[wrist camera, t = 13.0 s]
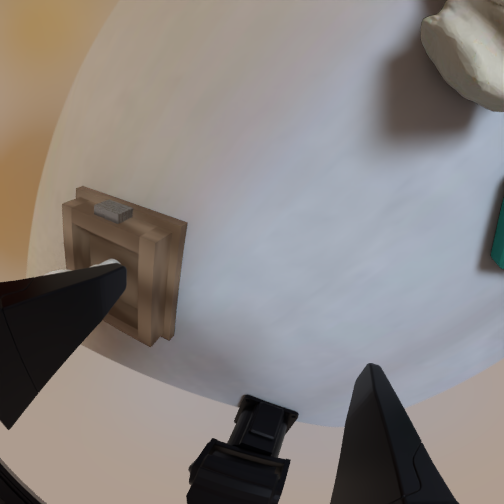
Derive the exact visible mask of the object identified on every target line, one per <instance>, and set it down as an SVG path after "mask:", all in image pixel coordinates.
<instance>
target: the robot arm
mask: <svg viewBox="0 0 504 504" xmlns="http://www.w3.org/2000/svg"><path fill="white" fill-rule="evenodd" d="M126 286H127V269H126V267H125V266H123V265H121V264H119V263H112V264H106V265H100V266H94V267H89V268H83V269H77V270H72V271H66V272H61V273H55V274H49V275H44V276H39V277H35V278H34V277H33V278H27V279H22V280H16V281H8V282H0V421H1V422H2V423H3V425H4V426H5V427H6V428H7V429H8V430H9V429H10V428H11V427H12V426H13V425H14V423H15V422H16V421H17V420H18V418H19V417H20V416H21V414H22V413H23V412H24V411H25V409H26V408H27V407H28V406H29V404H30V403H31V402H32V401H33V399H34V398H35V396H37V394H38V392H40V390H41V389H42V388H43V387H44V386H45V385H46V383H47V382H48V381H49V380H50V379H51V377H52V376H53V375H54V374H55V373H56V371H57V370H58V369H59V368H60V367H61V366H62V364H63V363H64V362H65V361H66V360H67V359H68V358H69V356H70V355H71V354H72V353H73V352H74V351H75V350H76V348H77V347H78V346H79V345H80V344H81V343H82V342H83V341H84V340H85V338H86V337H87V336H88V335H89V334H90V333H91V332H92V331H93V330H94V329H95V327H96V326H97V325H98V324H99V323H100V322H101V321H102V320H103V319H104V317H105V316H106V315H107V314H108V312H109V311H110V309H111V308H112V307H113V306H114V304H115V303H116V302H117V300H118V299H119V298H120V296H121V295H122V294H123V292H124V291H125V289H126ZM298 415H299V414H298V413H297V412H295V411H292V410H288V409H285V408H283V407H280V406H277V405H274V404H271V403H268V402H265V401H263V400H260V399H257V398H255V397H252V396H249V395H245V396H244V398H243V401H242V403H241V406H240V408H239V410H238V413H237V415H236V418H235V420H234V422H235V423H236V425H235V428H234V430H233V432H232V434H231V436H230V439H229V441H228V443H224V442H220V441H218V440H217V439H214V438H212V439H211V441H210V442H209V443H207V445H206V446H205V448H204V449H203V451H202V452H201V454H200V455H199V457H198V458H197V459H196V460H195V461H194V463H192V464H191V465H190V467H189V472H190V478H189V484H190V485H191V487H190V490H189V492H188V493H187V496H186V497H187V504H278V501H279V499H280V496H281V493H282V490H283V487H284V483H285V480H286V476H287V472H288V468H289V465H290V460H289V459H281V458H278V455H279V452H280V449H281V446H282V442H283V439H284V436H285V434H286V433H287V432H288V430H289V429H290V428H291V426H292V425H293V423H294V422H295V421H296V420H297V418H298ZM0 504H46V503H45V502H44V501H43V500H42V499H41V498H40V497H38V496H37V495H36V494H35V493H34V492H33V491H32V490H31V489H30V488H29V487H28V486H27V485H25V484H24V483H23V482H22V481H21V480H20V479H19V478H18V477H17V476H16V475H15V474H14V473H13V472H12V471H11V469H9V467H8V466H7V465H6V464H5V463H4V462H3V461H2V460H1V458H0ZM330 504H459V503H458V502H457V501H456V499H455V498H454V496H453V495H452V493H451V492H450V490H449V488H448V487H447V485H446V484H445V482H444V480H443V478H442V477H441V475H440V474H439V472H438V470H437V469H436V467H435V465H434V464H433V462H432V460H431V458H430V457H429V454H428V453H427V451H426V449H425V447H424V445H423V443H421V439H420V437H419V435H418V434H417V432H416V430H415V428H414V426H413V424H412V422H411V420H410V418H409V417H408V415H407V413H406V411H405V409H404V407H403V406H402V404H401V402H400V400H399V398H398V397H397V395H396V393H395V391H394V389H393V388H392V386H391V384H390V382H389V381H388V379H387V377H386V375H385V374H384V372H383V370H382V368H381V367H380V366H379V365H376V364H373V363H368V364H367V365H366V367H365V368H364V369H363V371H362V372H361V374H360V375H359V376H358V378H357V380H356V382H355V385H354V390H353V394H352V398H351V402H350V406H349V410H348V414H347V418H346V422H345V429H344V435H343V441H342V448H341V453H340V459H339V464H338V470H337V475H336V479H335V485H334V489H333V493H332V498H331V503H330Z"/></svg>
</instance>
